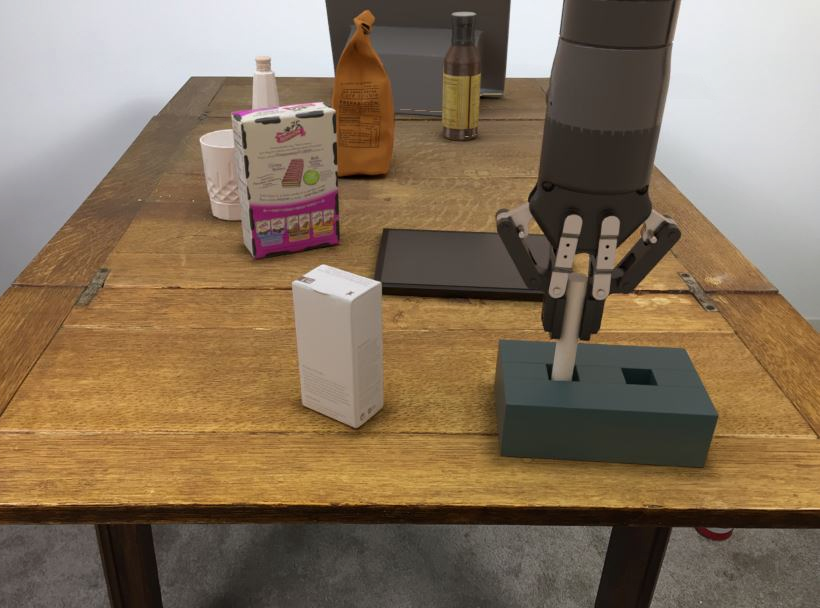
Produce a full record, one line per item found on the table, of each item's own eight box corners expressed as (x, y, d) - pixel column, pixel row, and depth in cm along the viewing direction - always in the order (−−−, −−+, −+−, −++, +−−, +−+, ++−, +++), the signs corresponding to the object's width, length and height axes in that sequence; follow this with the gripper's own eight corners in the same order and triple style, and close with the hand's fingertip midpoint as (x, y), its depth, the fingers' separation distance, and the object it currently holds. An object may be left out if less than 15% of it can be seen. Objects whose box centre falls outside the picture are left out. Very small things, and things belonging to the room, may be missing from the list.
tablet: (383, 235, 99) (383, 227, 98) (560, 242, 97) (561, 234, 96) (372, 294, 85) (372, 285, 84) (578, 303, 83) (580, 294, 83)
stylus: (565, 403, 65) (586, 273, 59) (567, 414, 64) (590, 282, 58) (545, 402, 65) (565, 272, 59) (548, 413, 64) (567, 281, 58)
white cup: (196, 210, 105) (187, 137, 100) (244, 196, 110) (238, 125, 105) (229, 227, 100) (222, 151, 95) (278, 212, 105) (274, 138, 100)
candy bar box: (326, 230, 100) (322, 99, 92) (341, 245, 96) (339, 109, 88) (240, 244, 96) (229, 109, 88) (252, 260, 92) (241, 120, 84)
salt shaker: (253, 124, 141) (249, 60, 136) (250, 116, 146) (245, 54, 140) (283, 122, 142) (280, 59, 137) (279, 114, 147) (276, 53, 141)
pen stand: (493, 387, 70) (498, 338, 67) (673, 396, 69) (685, 347, 66) (500, 456, 62) (505, 404, 59) (704, 467, 60) (719, 415, 58)
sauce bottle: (468, 129, 139) (476, 9, 129) (483, 139, 134) (493, 15, 124) (434, 132, 137) (440, 10, 127) (448, 143, 132) (455, 16, 122)
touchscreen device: (504, 94, 161) (519, -70, 145) (495, 123, 145) (510, -58, 129) (339, 84, 168) (336, -74, 151) (313, 110, 151) (306, -63, 135)
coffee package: (397, 155, 126) (401, 9, 115) (391, 182, 115) (394, 22, 104) (336, 153, 127) (334, 7, 116) (324, 179, 116) (320, 21, 105)
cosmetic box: (385, 406, 67) (388, 280, 61) (354, 433, 64) (354, 302, 58) (328, 383, 70) (325, 260, 64) (296, 407, 67) (289, 280, 61)
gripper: (503, 123, 49) (481, 356, 58) (727, 129, 48) (670, 365, 57) (496, 93, 56) (478, 308, 65) (694, 99, 55) (648, 315, 64)
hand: (568, 334), depth 61 cm, fingers closed on stylus, 1 cm apart
